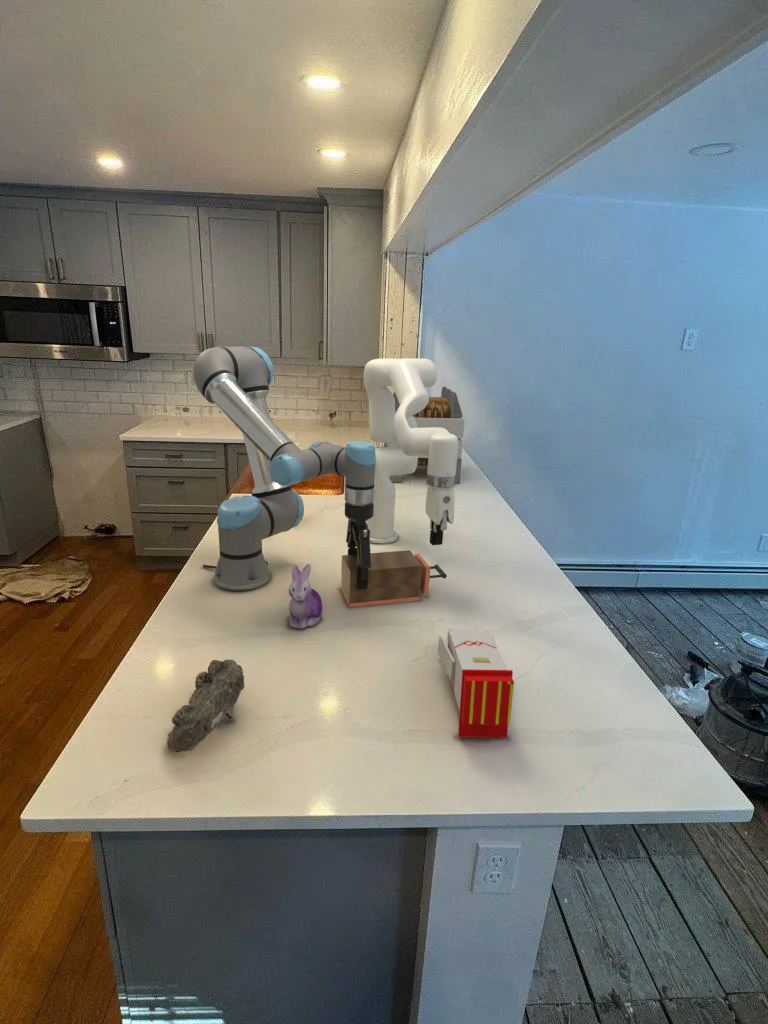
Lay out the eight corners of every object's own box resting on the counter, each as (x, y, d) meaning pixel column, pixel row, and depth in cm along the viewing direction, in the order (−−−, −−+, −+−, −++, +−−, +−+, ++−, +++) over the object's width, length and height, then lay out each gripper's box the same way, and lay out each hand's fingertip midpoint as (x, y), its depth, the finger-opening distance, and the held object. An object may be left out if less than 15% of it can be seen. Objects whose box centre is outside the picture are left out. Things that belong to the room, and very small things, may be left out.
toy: (488, 613, 130) (523, 677, 101) (484, 667, 133) (517, 744, 104) (435, 612, 130) (455, 676, 101) (432, 666, 133) (451, 743, 103)
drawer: (435, 578, 166) (437, 551, 163) (447, 593, 158) (449, 565, 155) (355, 585, 159) (355, 558, 157) (363, 601, 151) (364, 573, 148)
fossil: (192, 660, 117) (244, 628, 112) (224, 691, 120) (276, 661, 115) (142, 746, 98) (202, 712, 93) (182, 779, 101) (242, 748, 96)
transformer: (382, 463, 289) (386, 382, 275) (445, 464, 293) (451, 384, 279) (390, 482, 257) (394, 392, 243) (460, 483, 261) (468, 394, 247)
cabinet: (407, 582, 165) (409, 550, 161) (419, 600, 155) (422, 565, 152) (341, 588, 159) (341, 555, 156) (349, 607, 150) (350, 571, 146)
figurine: (294, 634, 136) (293, 577, 131) (280, 614, 145) (279, 560, 139) (330, 625, 140) (331, 571, 135) (315, 606, 149) (315, 554, 144)
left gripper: (385, 516, 137) (382, 597, 144) (362, 487, 157) (360, 560, 165) (355, 518, 135) (353, 600, 142) (336, 489, 155) (335, 562, 163)
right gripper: (465, 488, 145) (459, 553, 151) (443, 472, 158) (438, 533, 164) (437, 489, 143) (432, 556, 149) (418, 473, 156) (414, 534, 162)
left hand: (357, 579), depth 153 cm, fingers closed on cabinet, 11 cm apart
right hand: (435, 543), depth 157 cm, fingers closed
